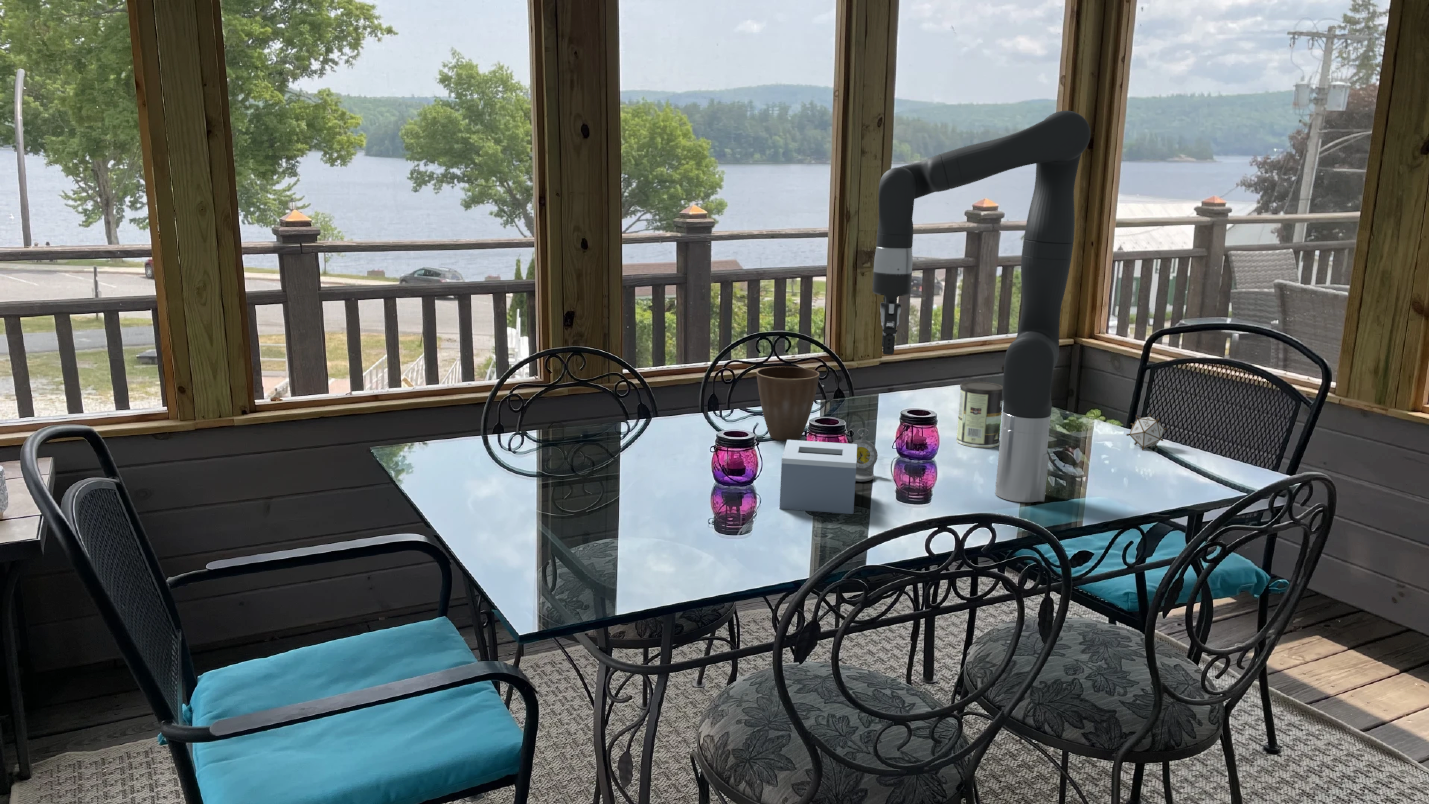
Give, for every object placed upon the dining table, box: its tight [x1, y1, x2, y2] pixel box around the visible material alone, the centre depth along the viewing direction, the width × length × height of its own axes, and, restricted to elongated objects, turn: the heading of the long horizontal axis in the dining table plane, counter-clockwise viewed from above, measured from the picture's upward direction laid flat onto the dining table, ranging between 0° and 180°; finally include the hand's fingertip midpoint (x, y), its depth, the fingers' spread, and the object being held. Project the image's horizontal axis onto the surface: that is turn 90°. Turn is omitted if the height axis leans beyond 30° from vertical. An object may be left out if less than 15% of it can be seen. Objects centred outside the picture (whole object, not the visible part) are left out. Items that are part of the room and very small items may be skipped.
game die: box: [1125, 413, 1168, 451], centre depth 254 cm, size 9×8×10 cm
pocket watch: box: [850, 428, 878, 483], centre depth 223 cm, size 8×8×10 cm
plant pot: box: [756, 366, 820, 442], centre depth 252 cm, size 15×15×16 cm
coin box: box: [779, 439, 858, 515], centre depth 206 cm, size 14×14×10 cm
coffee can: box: [955, 380, 1003, 449], centre depth 253 cm, size 10×10×14 cm
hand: (887, 350), depth 213 cm, fingers open, 8 cm apart
